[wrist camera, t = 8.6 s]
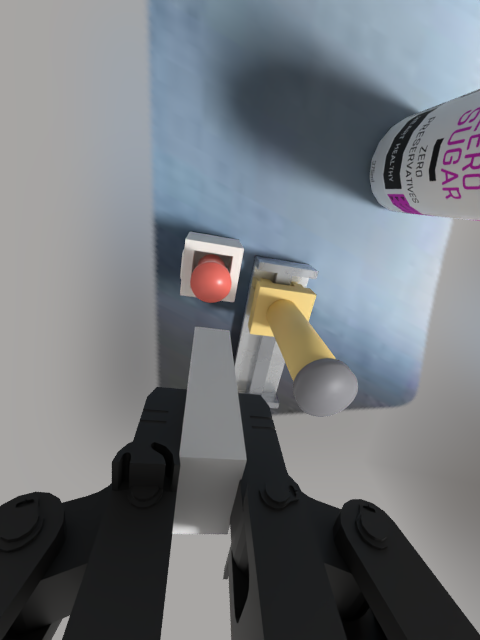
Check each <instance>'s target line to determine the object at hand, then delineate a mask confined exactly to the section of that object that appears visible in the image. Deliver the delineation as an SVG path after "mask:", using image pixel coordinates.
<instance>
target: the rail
mask: <svg viewBox="0 0 480 640" xmlns="http://www.w3.org/2000/svg"><path fill="white" fill-rule="evenodd" d="M317 275H318V271H317V270H316V269H314V268H313V267H312V266H310V265H309V264H303V263H297V262H291V261H285V260H279V259H273V258H267V257H261V256H255V260H254V265H253V270H252V275H251V280H250V285H249V290H248V295H247V300H246V305H245V310H244V315H243V320H242V325H241V330H240V335H239V340H238V345H237V350H236V355H235V360H234V368H235V375H236V383H237V390H238V393H244V394H256V395H261V396H262V398H263V399H264V400H265V401H266V403H267V404H268V405H269V408H278V407H279V400H278V397H277V394H276V391H277V388H278V384H279V381H280V377H281V374H282V370H283V367H284V363H285V360H284V358H283V356H282V353H281V351H280V349H279V347H278V344H277V342H276V340H275V337H272V336H263V335H255V334H250V332H249V328H248V322H249V317H250V312H251V307H252V303H253V298H254V293H255V288H256V284H257V281H261V278H264V279H270V280H271V281H272V283H277V284H283V285H290V286H291V285H292V283H296V284H301V285H302V286H303V287H304V288H306V286H307V282H308V279H309V278H311V279H316V278H317Z"/></svg>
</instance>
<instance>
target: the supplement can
mask: <svg viewBox="0 0 480 640" xmlns="http://www.w3.org/2000/svg"><path fill="white" fill-rule="evenodd" d="M369 177H370V183H371V189H372V193H373V194H374V196H375V197H376V199H377V201H378V202H379V204H381V205H382V206H384V207H385V208H387V209H388V210H390V211H395V212H401V213H410V214H419V215H429V216H438V217H447V218H457V219H467V220H476V221H480V89H479V90H476V91H473V92H471V93H468V94H466V95H463V96H460V97H458V98H455V99H453V100H450V101H448V102H445V103H442V104H440V105H437V106H435V107H432V108H429V109H427V110H424V111H422V112H419V113H417V114H414V115H411V116H409V117H406V118H405V119H403V120H402V121H400V122H399V123H397V124H396V125H394V126H393V127H391V128H390V130H389V131H388V132H387V133H386V135H385V136H384V137H383V138H382V139H381V141H380V142H379V144H378V146H377V148H376V151H375V153H374V155H373V158H372V161H371V168H370V176H369Z"/></svg>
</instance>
